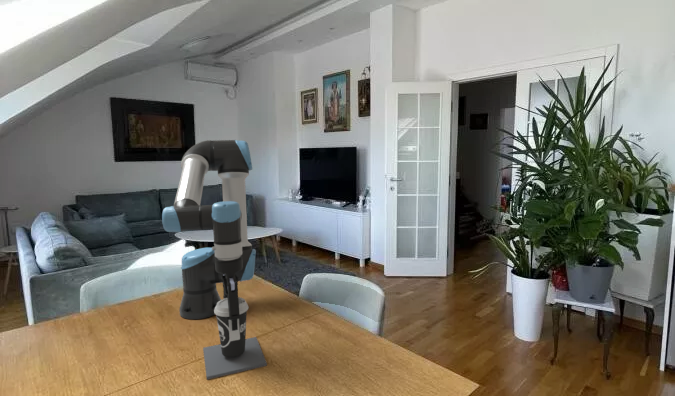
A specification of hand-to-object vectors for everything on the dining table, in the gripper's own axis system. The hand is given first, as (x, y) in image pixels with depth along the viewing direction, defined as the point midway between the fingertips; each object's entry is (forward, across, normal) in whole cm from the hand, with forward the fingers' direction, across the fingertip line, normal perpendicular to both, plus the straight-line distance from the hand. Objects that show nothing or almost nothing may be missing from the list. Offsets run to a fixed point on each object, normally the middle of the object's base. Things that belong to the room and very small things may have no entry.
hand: (232, 331), depth 108 cm
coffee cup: (+6, 0, 0) cm, 6 cm away
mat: (+8, 0, 0) cm, 8 cm away
